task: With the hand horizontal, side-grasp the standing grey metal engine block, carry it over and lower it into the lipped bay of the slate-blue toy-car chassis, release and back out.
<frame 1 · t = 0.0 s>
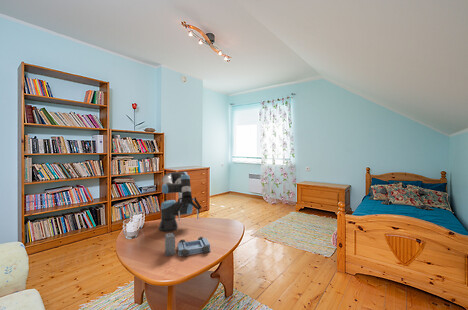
hand: (188, 219, 156), 15 cm above the table, tool tilted 35°, fingers open, 13 cm apart
engine block: (170, 253, 135), on the table
chassis: (193, 249, 141), on the table
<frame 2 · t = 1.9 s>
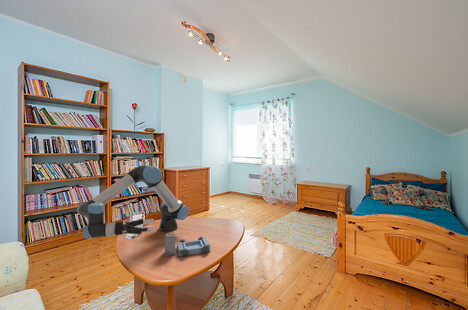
hand: (153, 224, 132), 20 cm above the table, tool horizontal, fingers open, 13 cm apart
nothing on the table moved.
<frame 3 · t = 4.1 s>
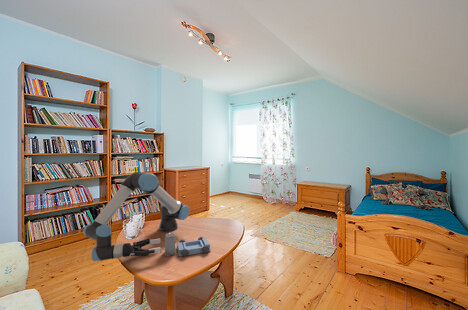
hand: (160, 245, 133), 6 cm above the table, tool horizontal, fingers open, 13 cm apart
nothing on the table moved.
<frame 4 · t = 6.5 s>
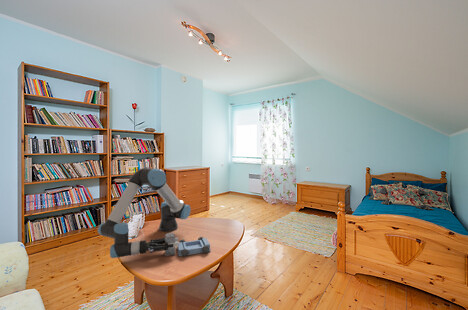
hand: (178, 241, 137), 7 cm above the table, tool horizontal, fingers closed on engine block, 6 cm apart
engine block: (170, 253, 135), on the table, touching gripper
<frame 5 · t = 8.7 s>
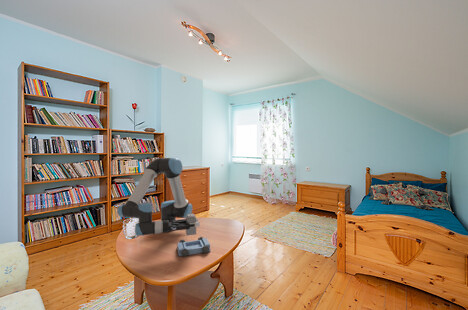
hand: (198, 222, 141), 18 cm above the table, tool horizontal, fingers closed on engine block, 6 cm apart
engine block: (190, 233, 139), point 11 cm above the table, touching gripper
when the fingers open (9 cm above the table, at t = 10.8 s): engine block drops 1 cm, resting on chassis.
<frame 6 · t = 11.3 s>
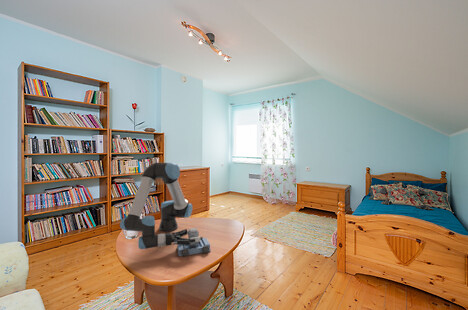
hand: (198, 234, 141), 9 cm above the table, tool horizontal, fingers open, 13 cm apart
engine block: (193, 247, 141), point 1 cm above the table, touching chassis
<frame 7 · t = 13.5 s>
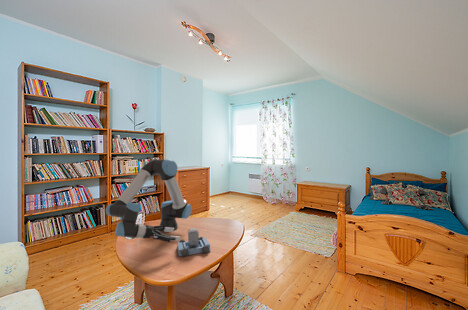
hand: (176, 234, 140), 10 cm above the table, tool tilted 75°, fingers open, 13 cm apart
nothing on the table moved.
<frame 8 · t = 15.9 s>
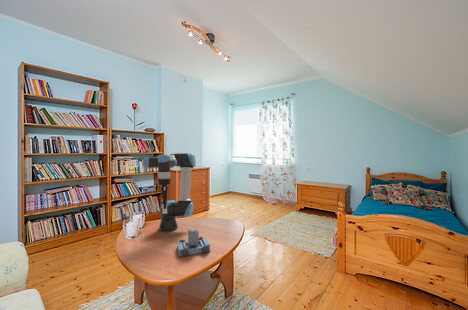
hand: (164, 210, 138), 27 cm above the table, tool pointing down, fingers open, 13 cm apart
nothing on the table moved.
at the end: engine block inside the target area on the chassis (0.0 cm from its centre), point 1.2 cm above the chassis's base; engine block tilted 0°; the gripper is holding nothing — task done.
